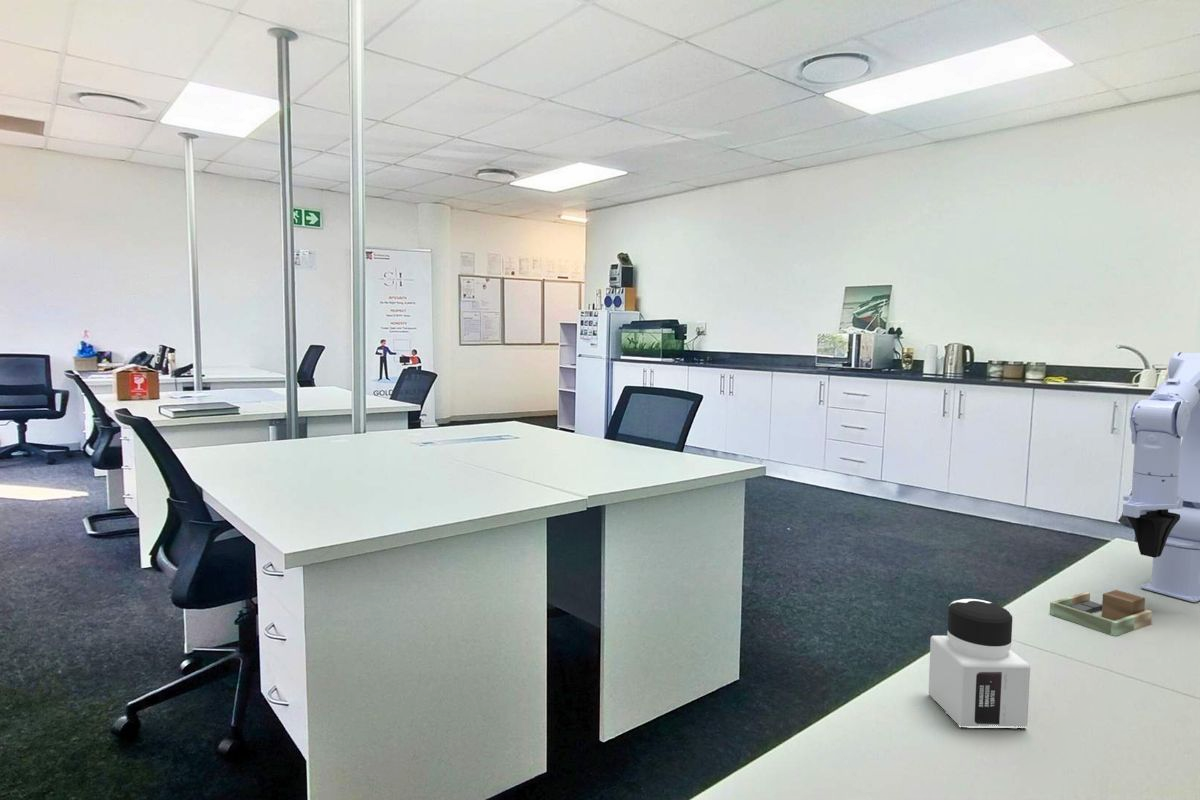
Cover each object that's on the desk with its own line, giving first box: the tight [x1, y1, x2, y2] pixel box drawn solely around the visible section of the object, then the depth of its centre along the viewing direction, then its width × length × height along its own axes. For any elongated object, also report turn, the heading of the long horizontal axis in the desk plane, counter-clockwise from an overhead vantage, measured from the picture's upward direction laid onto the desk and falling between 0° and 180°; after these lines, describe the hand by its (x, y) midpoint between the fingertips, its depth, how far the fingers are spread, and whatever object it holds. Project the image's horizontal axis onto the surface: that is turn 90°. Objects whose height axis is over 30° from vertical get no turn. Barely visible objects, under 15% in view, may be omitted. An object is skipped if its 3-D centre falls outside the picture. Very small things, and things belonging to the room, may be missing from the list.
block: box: [1101, 589, 1146, 621], centre depth 106 cm, size 4×4×4 cm
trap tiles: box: [1071, 600, 1102, 614], centre depth 110 cm, size 6×2×1 cm, turn 117°
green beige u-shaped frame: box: [1049, 591, 1153, 637], centre depth 106 cm, size 10×9×2 cm
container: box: [928, 598, 1031, 727], centre depth 78 cm, size 8×8×13 cm
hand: (1150, 555), depth 109 cm, fingers closed
